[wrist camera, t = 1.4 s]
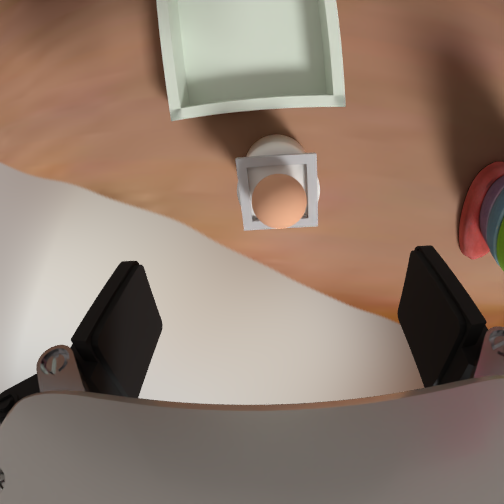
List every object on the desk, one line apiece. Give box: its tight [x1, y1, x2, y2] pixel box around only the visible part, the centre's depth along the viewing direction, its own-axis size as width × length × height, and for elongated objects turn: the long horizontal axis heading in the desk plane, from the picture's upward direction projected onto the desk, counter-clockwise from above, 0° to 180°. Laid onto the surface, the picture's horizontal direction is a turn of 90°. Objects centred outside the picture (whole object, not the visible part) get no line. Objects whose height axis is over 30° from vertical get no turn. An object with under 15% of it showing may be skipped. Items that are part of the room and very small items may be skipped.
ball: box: [252, 174, 307, 229], centre depth 18 cm, size 3×3×3 cm
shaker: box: [236, 135, 320, 230], centre depth 22 cm, size 5×5×7 cm
